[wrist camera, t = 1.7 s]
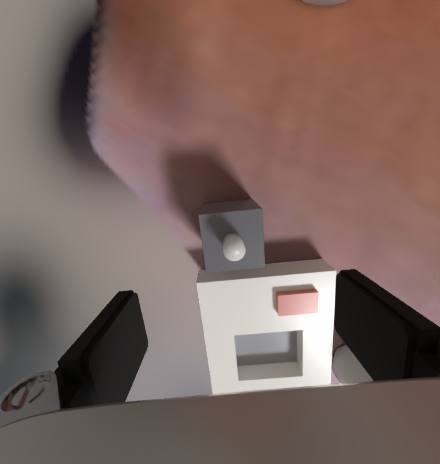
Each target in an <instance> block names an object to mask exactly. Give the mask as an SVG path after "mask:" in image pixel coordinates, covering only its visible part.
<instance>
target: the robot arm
mask: <svg viewBox="0 0 440 464" xmlns="http://www.w3.org/2000/svg"><path fill="white" fill-rule="evenodd" d="M301 1H304V2H306V3H310V4H316V5H333V4H339V3H342V2H345V1H348V0H301ZM334 326H335V329H336V331H337V333H338V334H339V336H340V337H341V338H342V340H343V341H344V342H345V344H346V345H347V346H348V348H349V349H350V350H351V352H352V353H353V354H354V356H355V357H356V358H357V360H358V361H359V362H360V364H361V365H362V366H363V368H364V369H365V370H366V372H367V373H368V374H369V376H370V377H371V378H372V380H373V381H369V382H356V383H343V384H330V385H317V386H304V387H291V388H279V389H267V390H255V391H243V392H231V393H219V394H208V395H196V396H186V397H175V398H164V399H152V400H141V401H131V402H125V401H126V398H127V396H128V393H129V391H130V389H131V386H132V384H133V382H134V379H135V377H136V374H137V372H138V370H139V367H140V365H141V362H142V360H143V357H144V355H145V353H146V350H147V347H148V339H147V334H146V331H145V326H144V321H143V317H142V313H141V308H140V304H139V299H138V295H137V293H134V292H133V291H132V290H129V291H119V292H118V293H117V294H116V295H115V296H114V298H113V299H112V300H111V301H110V302H109V303H108V304H107V306H106V307H105V308H104V309H103V310H102V311H101V313H100V314H99V315H98V316H97V317H96V318H95V320H93V322H92V323H91V324H90V325H89V326H88V328H87V329H86V330H85V331H84V332H83V333H82V334H81V335H80V337H79V338H78V339H77V340H76V341H75V342H74V344H73V345H72V346H71V347H70V348H69V349H68V350H67V352H66V353H65V354H64V355H63V356H62V357H61V358H60V360H59V361H58V365H59V367H58V368H57V369H56V370H55V372H52V371H41V372H37V373H35V374H32V375H30V376H28V377H26V378H24V379H22V380H21V381H19V382H18V383H16V384H15V385H13V386H12V387H11V388H9V389H8V390H7V391H6V392H5V393H4V394H3V395H2V396H1V397H0V464H440V327H439V326H437V325H436V324H434V323H433V322H432V321H430V320H429V319H427V318H426V317H424V316H423V315H421V314H420V313H418V312H417V311H415V310H414V309H413V308H411V307H410V306H408V305H407V304H405V303H404V302H402V301H401V300H399V299H398V298H396V297H395V296H394V295H392V294H391V293H389V292H388V291H386V290H385V289H383V288H382V287H380V286H379V285H378V284H376V283H375V282H373V281H372V280H370V279H369V278H367V277H366V276H364V275H363V274H361V273H360V272H359V271H357V270H355V269H350V270H341V271H340V273H339V274H337V275H336V288H335V315H334Z"/></svg>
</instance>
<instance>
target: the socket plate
mask: <svg viewBox="0 0 440 464" xmlns="http://www.w3.org/2000/svg"><path fill="white" fill-rule="evenodd" d="M196 285H197V292H198V299H199V305H200V312H201V319H202V325H203V332H204V339H205V345H206V352H207V359H208V366H209V372H210V379H211V385H212V391H213V394H219V393H231V392H243V391H255V390H267V389H279V388H291V387H304V386H317V385H330V383H331V364H332V345H333V325H334V306H335V286H336V270H335V269H334V268H333V267H332V266H330V265H329V264H328V263H327V262H326V261H325V260H324V259H313V260H302V261H291V262H280V263H270V264H265V267H263V268H252V269H241V270H231V271H220V272H209V273H206V269H205V270H199V273H198V278H197V282H196Z"/></svg>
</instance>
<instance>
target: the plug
mask: <svg viewBox="0 0 440 464" xmlns="http://www.w3.org/2000/svg"><path fill="white" fill-rule="evenodd" d="M198 216H199V224H200V231H201V239H202V247H203V254H204V262H205V269H206V273H209V272H220V271H231V270H241V269H252V268H263V267H265V254H264V233H263V213H262V208H261V207H260V206H259V205H258V204H257V203H256V202H255V201H254V200H252V199H245V200H235V201H225V202H216V203H206V204H204V205H203V207H202V209H201V211H200V213H199V215H198Z"/></svg>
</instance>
